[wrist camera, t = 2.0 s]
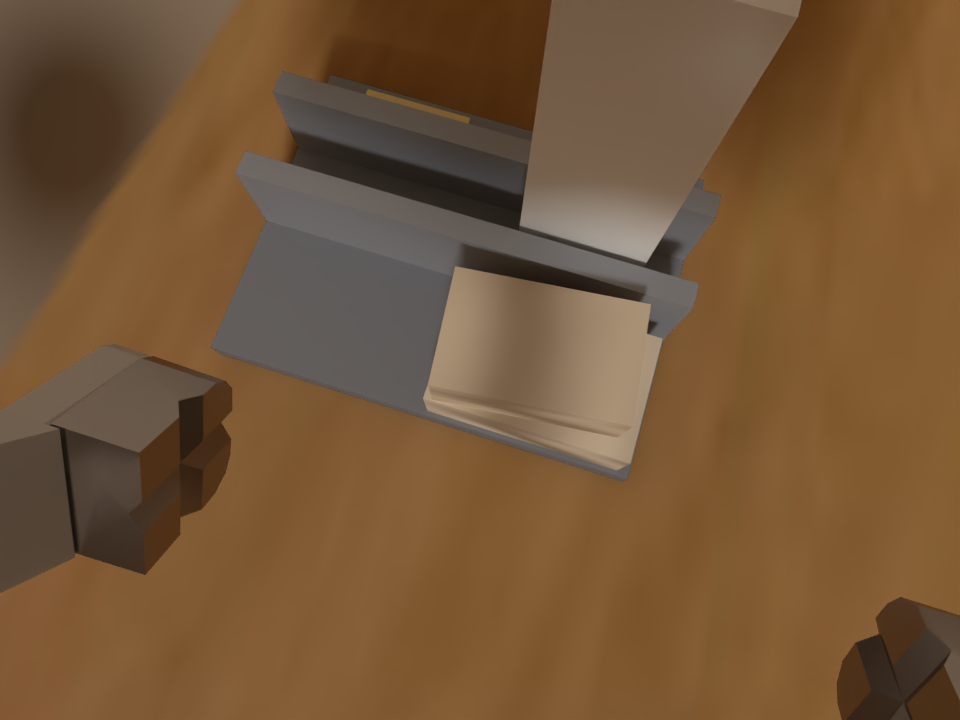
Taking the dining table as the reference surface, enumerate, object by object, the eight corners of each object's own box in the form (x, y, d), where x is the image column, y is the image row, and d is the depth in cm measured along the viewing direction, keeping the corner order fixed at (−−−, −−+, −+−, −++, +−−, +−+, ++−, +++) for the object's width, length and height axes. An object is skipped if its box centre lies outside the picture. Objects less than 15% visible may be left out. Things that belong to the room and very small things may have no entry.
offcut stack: (647, 352, 28) (682, 314, 24) (616, 470, 27) (647, 455, 22) (463, 296, 29) (461, 247, 24) (425, 409, 28) (414, 382, 23)
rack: (697, 191, 31) (737, 127, 27) (622, 481, 28) (653, 468, 23) (334, 88, 33) (310, 9, 28) (219, 353, 29) (169, 316, 24)
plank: (637, 255, 30) (816, -59, 14) (625, 296, 29) (797, 17, 14) (527, 223, 30) (584, -118, 14) (514, 263, 29) (558, -46, 14)
